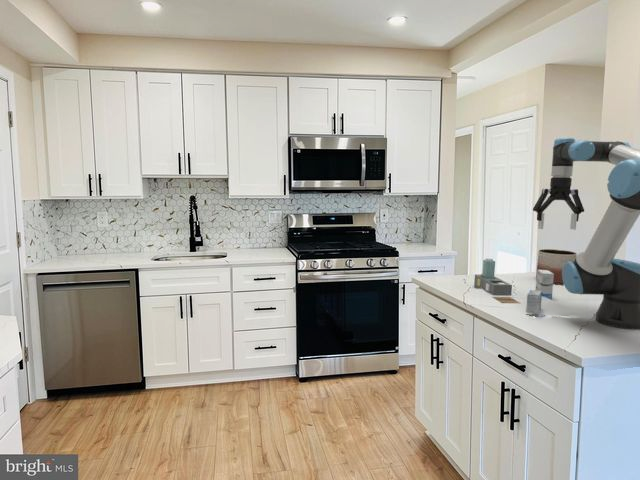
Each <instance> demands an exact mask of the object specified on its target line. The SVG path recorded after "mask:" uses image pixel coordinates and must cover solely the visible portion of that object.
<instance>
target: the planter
mask: <svg viewBox="0 0 640 480" xmlns="http://www.w3.org/2000/svg"><path fill="white" fill-rule="evenodd" d="M577 255H578V254H577V252H576V251H575V252H574V251H571V250H570V251H569V250H563V249H550V248H549V249H545V248H544V249H538V253H537V263H536V273H535V274H536V275H535V277H536V279H537V270H548V271H550V272H551V273H553V274H554V279H553V285H559V284H564V283H563V279H562V269H563V265H564V264H565V263H566V262H569V261H571V262H574V261H575V259H576V257H577Z"/></svg>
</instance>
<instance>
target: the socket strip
mask: <svg viewBox="0 0 640 480" xmlns="http://www.w3.org/2000/svg"><path fill="white" fill-rule="evenodd" d="M473 285H474V286H473V287H474V288H476V289H477V290H478V289H483V290H484V291H486V292H487V293H489V294H491V295H492V296H512V291H513V290H512V289H513V285H512V284H510V283H508V282H507V281H504V280H502V279H500V278H498V277H497V276H495V275H494V279H485V278H483V277H482V273H481V274H474V284H473Z"/></svg>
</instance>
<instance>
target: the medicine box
mask: <svg viewBox="0 0 640 480" xmlns="http://www.w3.org/2000/svg"><path fill="white" fill-rule="evenodd" d="M542 298H543V296H542V291H536V289H535V290H534V289H533V290H532V289H530V290H529V291H528V293H527V295H526V308H525V312H526V314H525V316H527V315H529V316H528V317H533V316H535V317H534V318H539V317H540V313H541V310H542V301H543V299H542ZM530 313H531V314H530Z"/></svg>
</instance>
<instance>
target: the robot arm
mask: <svg viewBox="0 0 640 480" xmlns="http://www.w3.org/2000/svg"><path fill="white" fill-rule="evenodd" d="M551 159H552V161H551V162H552V163H551V173H550V176H551V178H550V184H549V187H550V188H549V189H548V188H542V190H541V194H540V196H539V198H538V199H537V201H536V203H535V205H534V207H533V208H532V211H533V212H536V220H537V221H538V224H537V229H538V230H539V229H540V230H544V223H545V213H544V211H545V210H546V209H548V207H549V206H550V205H551V204H552V203H553V202H554V201H564V202H565V203H566V204H567V205H568V207H569V209H570V210H571V211H572V212H573V213H571V215H570V225H569V226H570V227H569V229H570V230H574V231H575V230H577V223H578V222H579V216H580V214H581V213H584V212H585V208H584V206H583V203H582V201H581V198H580V196H579V189H577V188H575V189H571V187H572V180H573V179H572V176H573V172H574V171H573V170H574V169H573V168H574V162H601V163H602V162H603V163H604V162H605V163H610V164H612V165H614V167H613V168H612V169H611V171H610V172H609V175H608V177H607V181H608V182H607V183H606V186H607V187H606V188H607V191H608V193H609V198H610V200H611V202H610V204H609V205H608V208H607V209H606V211H605V213H604V215H603V217H602V219H601V221H600V223H599V224H598V226H597V228H596V230H595V231H594V233H593V235H592V238H591V239H590V241H589V243H588V244H587V247H586V248H585V250H584V251H582V252H579V253H578V254H577V257H576V259H575V261H574V262H571V261H569V262H566V263H565V264H564V265H563V269H562V279H563V283H564V287H565V288H566V291H567V292H569V293H571V294H574V295H597V296H598V295H602V296H603V297H602V301H601V303H600V305H599V307H598V309H597V311H596V313H595V321H596V322H598V323H601V324H603V325H606V326H610V327H614V328H619V329H627V330H629V329H630V330H640V262H634V261H630V260H626V259H620V258H615V257H616V255H617V254H618V252H619V250H620V248H621V247H622V245H623V244H624V242H625V240H626V239H627V237H628V235H629V233H630V231H631V230H632V229H633V227H634V225H635V223H636V221H637V219H639V217H640V149H638V148H636V147H632V146H631V145H630V144H629V143H628V142H625V141H618V140H617V141H596V140H595V141H593V140H592V141H591V140H588V139H587V140H586V139H583V140H581V139H580V140H576V139H575V138H574V137H560V138H555V139H554V142H553V147H552V158H551ZM548 195H549V196H548ZM570 195H571V196H572V198H571V197H570ZM547 196H548V197H547ZM546 198H547V199H546ZM572 199H573V200H572ZM573 201H574V202H573Z"/></svg>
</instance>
